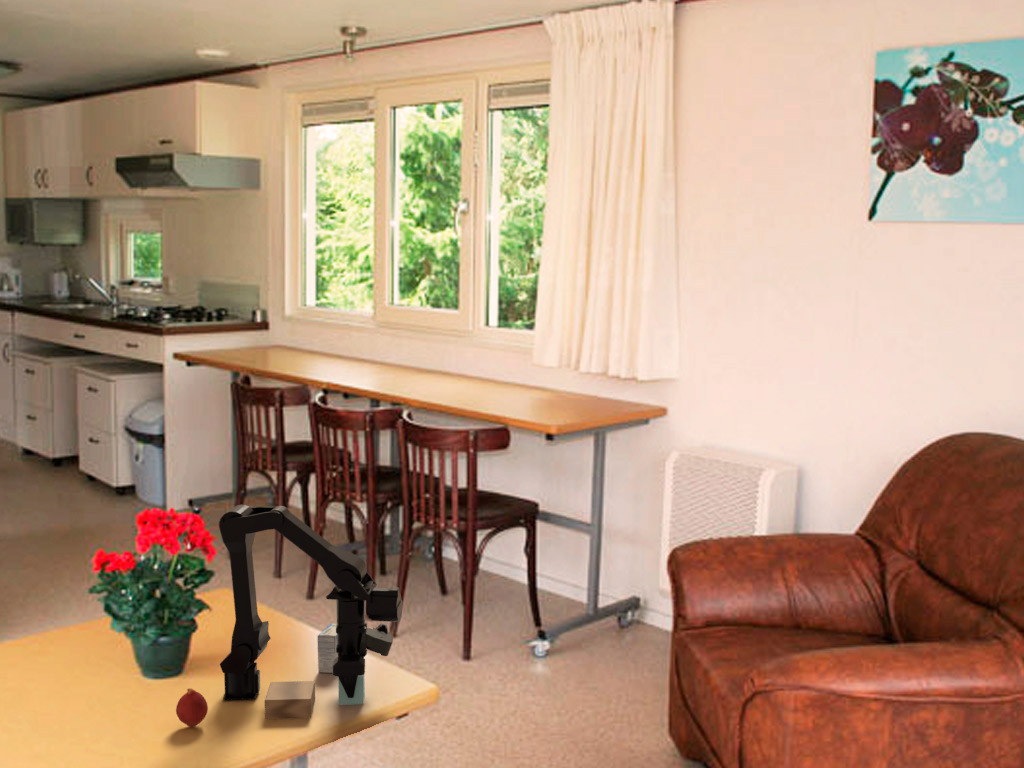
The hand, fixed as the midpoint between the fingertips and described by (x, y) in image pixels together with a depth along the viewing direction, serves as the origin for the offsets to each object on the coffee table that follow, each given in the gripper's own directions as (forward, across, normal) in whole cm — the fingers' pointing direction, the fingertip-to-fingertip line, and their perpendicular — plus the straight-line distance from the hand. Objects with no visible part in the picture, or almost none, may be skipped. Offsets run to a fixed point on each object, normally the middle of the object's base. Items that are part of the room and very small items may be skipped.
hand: (351, 692), depth 230 cm
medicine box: (+2, +18, +5) cm, 19 cm away
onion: (+2, -11, +30) cm, 32 cm away
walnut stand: (+2, -4, +12) cm, 13 cm away
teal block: (+2, 0, 0) cm, 2 cm away
